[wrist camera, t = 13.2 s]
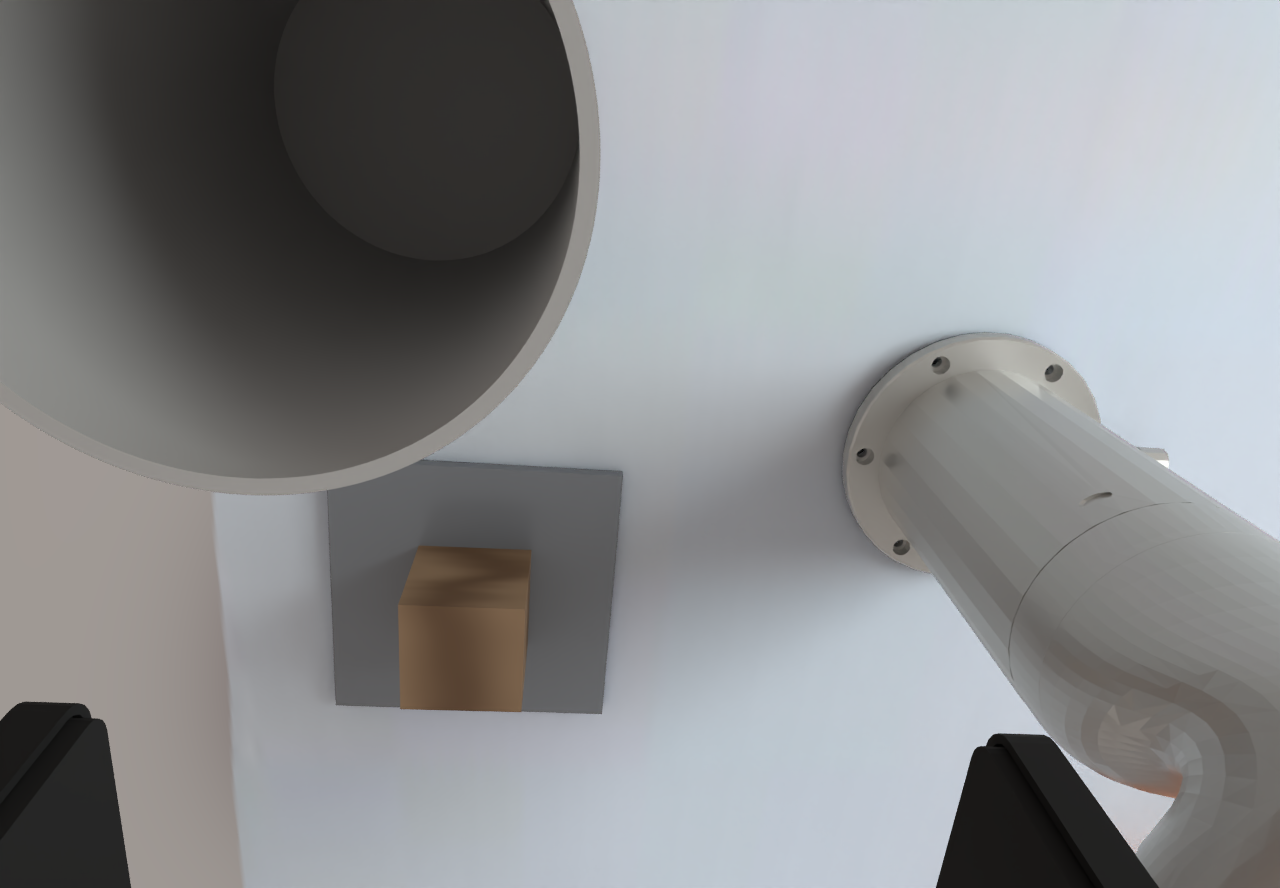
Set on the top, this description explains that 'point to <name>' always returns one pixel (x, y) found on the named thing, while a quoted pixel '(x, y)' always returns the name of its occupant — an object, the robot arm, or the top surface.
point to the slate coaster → (478, 518)
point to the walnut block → (464, 629)
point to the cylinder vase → (285, 226)
